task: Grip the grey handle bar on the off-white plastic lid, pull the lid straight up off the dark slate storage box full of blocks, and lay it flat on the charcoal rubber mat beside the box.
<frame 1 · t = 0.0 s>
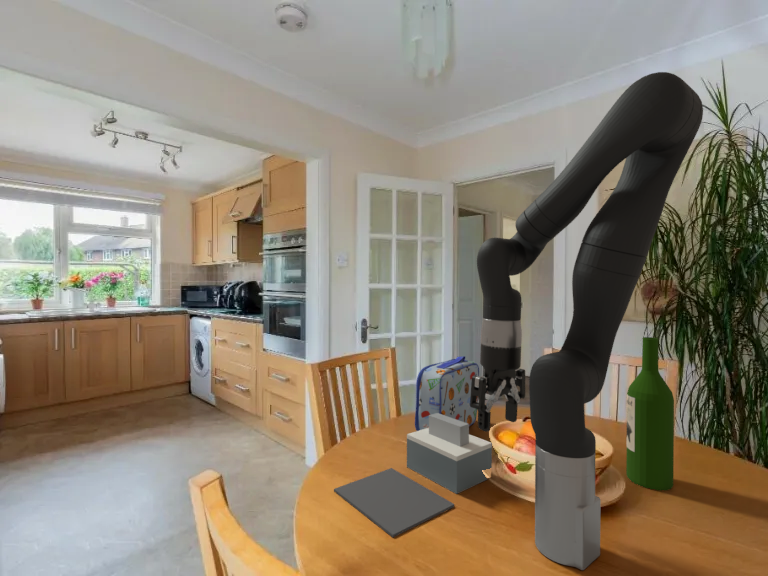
hand: (497, 425, 78), 17 cm above the table, tool pointing down, fingers open, 8 cm apart
storage box: (448, 471, 95), on the table
lunch box: (449, 430, 123), on the table
wine bottle: (649, 481, 91), on the table
mat: (392, 498, 83), on the table
lid: (448, 446, 95), point 6 cm above the table, touching storage box
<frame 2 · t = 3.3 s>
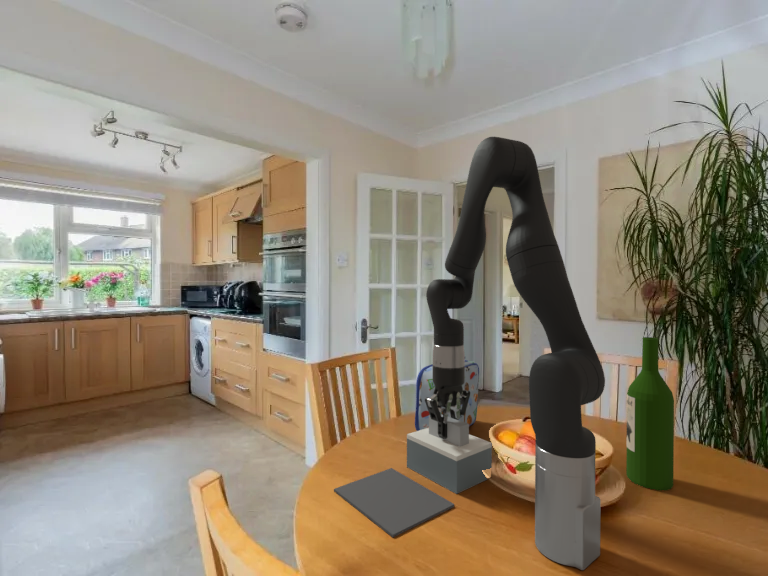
hand: (448, 435, 95), 9 cm above the table, tool pointing down, fingers closed on lid, 3 cm apart
lid: (448, 446, 95), point 6 cm above the table, touching gripper, storage box
everything else where it was.
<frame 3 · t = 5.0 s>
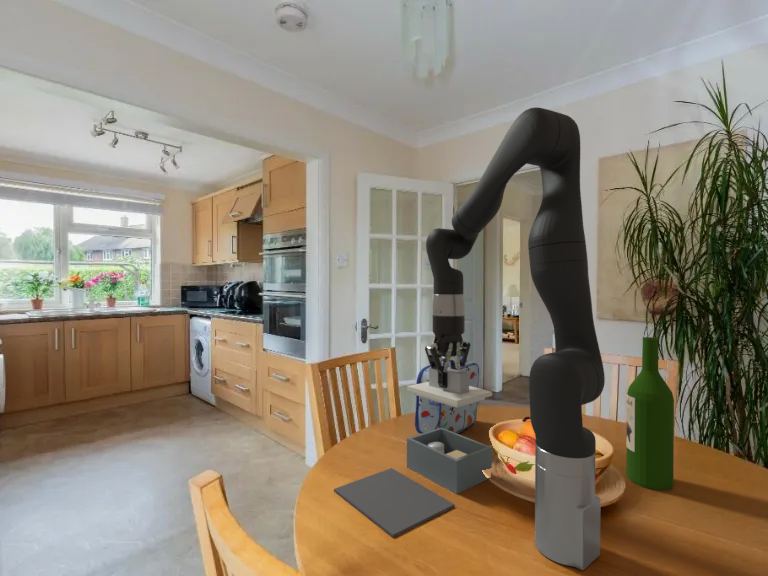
hand: (448, 385, 95), 20 cm above the table, tool pointing down, fingers closed on lid, 3 cm apart
lid: (448, 397, 95), point 18 cm above the table, touching gripper
everything else where it was.
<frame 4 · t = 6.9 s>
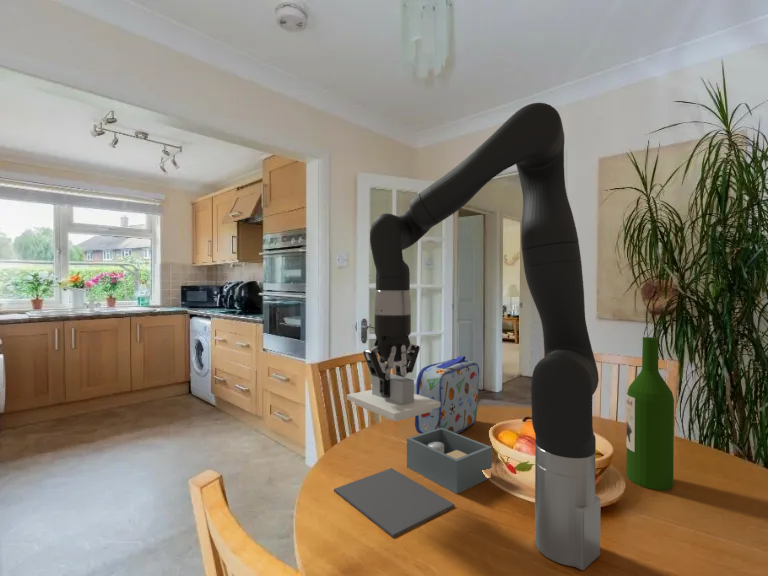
hand: (392, 395, 83), 22 cm above the table, tool pointing down, fingers closed on lid, 3 cm apart
lid: (392, 407, 83), point 19 cm above the table, touching gripper
everything else where it was.
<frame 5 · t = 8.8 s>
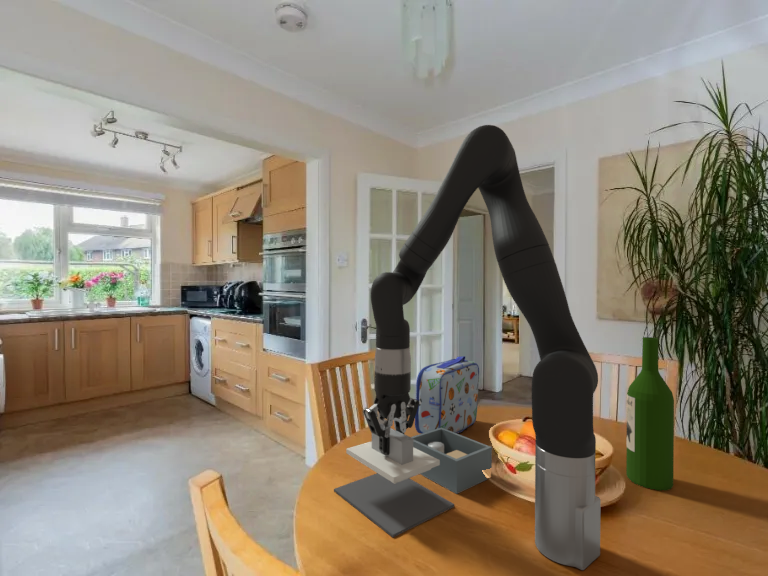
hand: (391, 451, 83), 10 cm above the table, tool pointing down, fingers closed on lid, 3 cm apart
lid: (391, 463, 83), point 7 cm above the table, touching gripper
everything else where it was.
when the fingers open (5 cm above the table, at t = 10.6 s): lid drops 1 cm, resting on mat.
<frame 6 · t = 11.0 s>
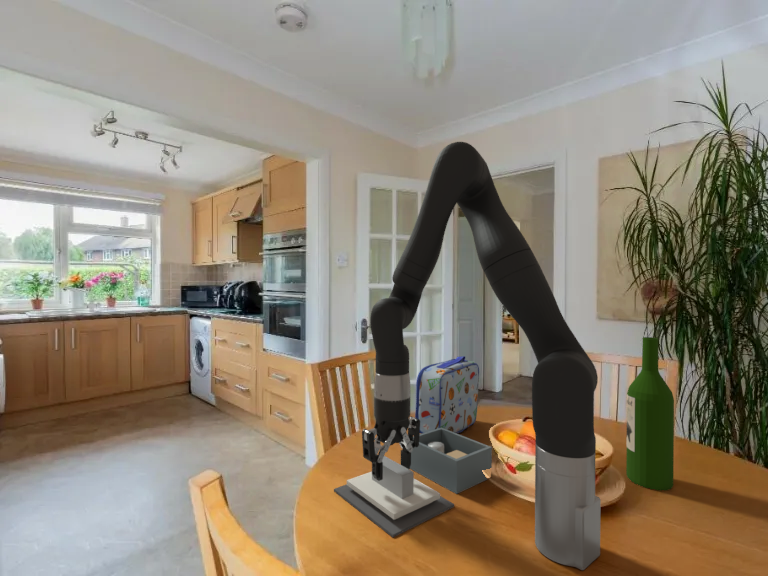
hand: (392, 473, 83), 5 cm above the table, tool pointing down, fingers open, 6 cm apart
lid: (391, 496, 83), resting on mat
everything else where it was.
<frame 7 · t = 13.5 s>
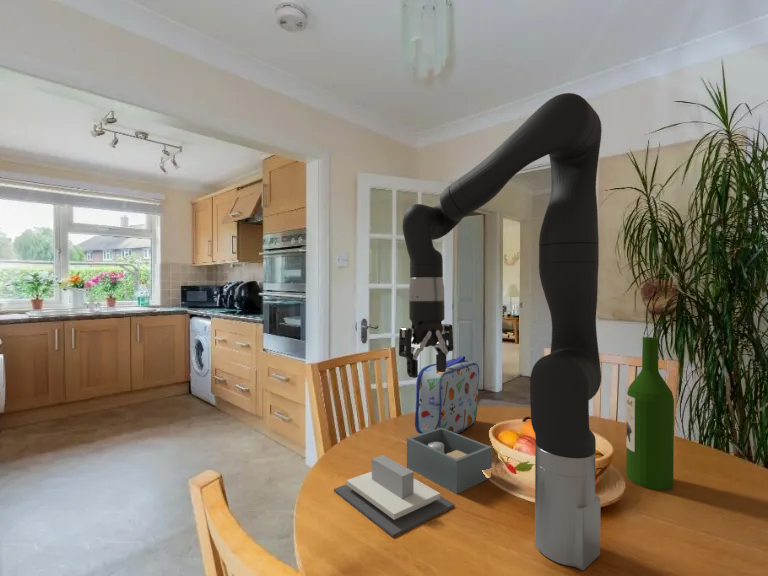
hand: (427, 374, 86), 25 cm above the table, tool pointing down, fingers open, 8 cm apart
nothing on the table moved.
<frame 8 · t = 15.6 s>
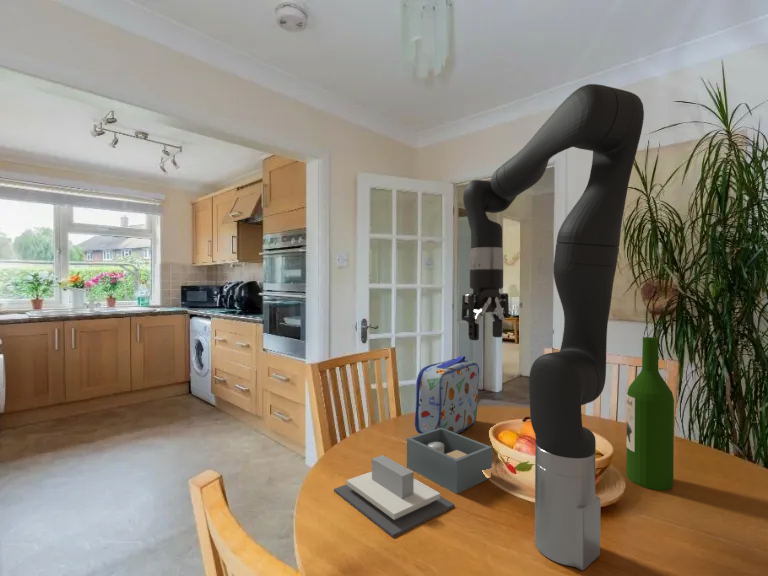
hand: (486, 338, 92), 32 cm above the table, tool pointing down, fingers open, 8 cm apart
nothing on the table moved.
at the end: lid inside the target area on the mat (0.0 cm from its centre), point 0.5 cm above the mat's base; lid tilted 0°; lid touching mat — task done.
